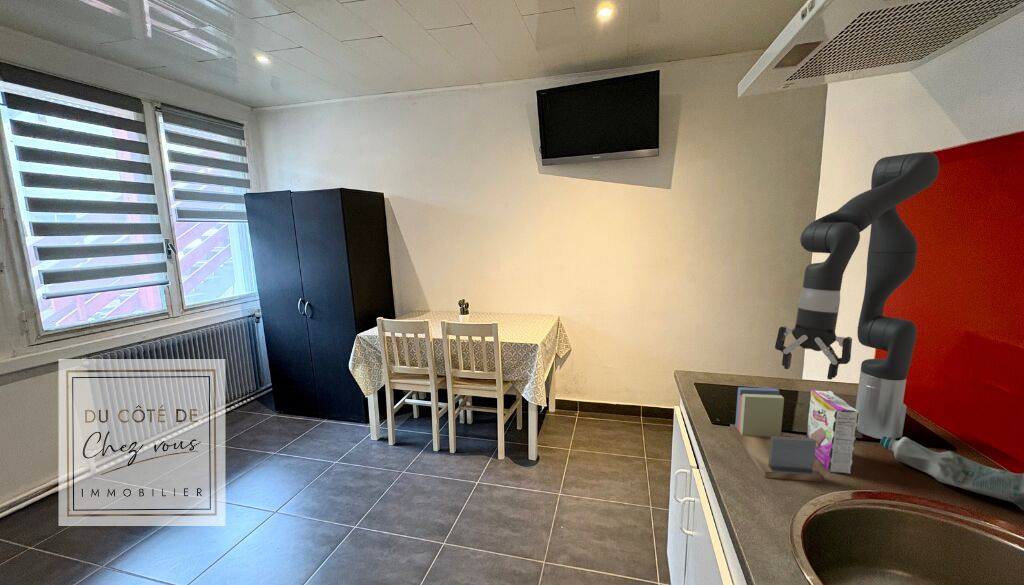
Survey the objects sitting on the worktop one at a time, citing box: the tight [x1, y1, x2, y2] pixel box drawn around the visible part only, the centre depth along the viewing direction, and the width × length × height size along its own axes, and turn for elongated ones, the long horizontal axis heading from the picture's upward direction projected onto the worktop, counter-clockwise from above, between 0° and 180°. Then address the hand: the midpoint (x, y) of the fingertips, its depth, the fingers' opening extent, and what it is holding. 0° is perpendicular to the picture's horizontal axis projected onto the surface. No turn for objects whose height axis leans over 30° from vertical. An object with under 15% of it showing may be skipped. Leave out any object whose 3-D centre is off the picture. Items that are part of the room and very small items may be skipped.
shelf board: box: [729, 423, 823, 482], centre depth 101 cm, size 12×22×2 cm, turn 170°
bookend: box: [768, 436, 816, 475], centre depth 91 cm, size 9×2×8 cm, turn 80°
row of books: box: [734, 386, 785, 437], centre depth 108 cm, size 10×5×12 cm, turn 80°
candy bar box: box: [805, 389, 859, 475], centre depth 96 cm, size 11×5×16 cm, turn 168°
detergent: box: [879, 436, 1024, 511], centre depth 88 cm, size 13×7×25 cm
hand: (807, 373), depth 94 cm, fingers open, 8 cm apart
